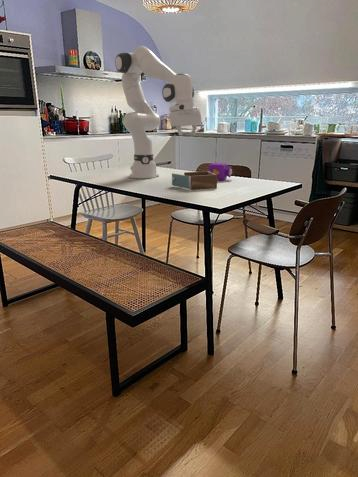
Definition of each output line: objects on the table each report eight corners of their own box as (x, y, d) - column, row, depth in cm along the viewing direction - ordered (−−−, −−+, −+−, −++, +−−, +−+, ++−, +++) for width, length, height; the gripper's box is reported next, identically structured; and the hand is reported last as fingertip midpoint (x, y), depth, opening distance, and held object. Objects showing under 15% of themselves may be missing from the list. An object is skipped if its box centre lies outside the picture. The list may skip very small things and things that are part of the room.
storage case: (184, 185, 208) (184, 172, 206) (208, 183, 211) (208, 171, 209) (191, 189, 195) (191, 176, 193) (216, 187, 199) (217, 174, 196)
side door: (170, 185, 204) (170, 173, 201) (173, 185, 205) (173, 173, 203) (188, 189, 193) (188, 176, 191) (191, 188, 194) (191, 176, 192)
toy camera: (231, 181, 218) (232, 163, 215) (208, 180, 221) (208, 163, 218) (232, 178, 228) (233, 161, 225) (210, 177, 231) (210, 161, 228)
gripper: (194, 107, 202) (196, 134, 205) (166, 107, 188) (169, 136, 192) (203, 106, 197) (205, 133, 201) (175, 106, 184) (177, 135, 187)
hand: (187, 134), depth 196 cm, fingers open, 8 cm apart
